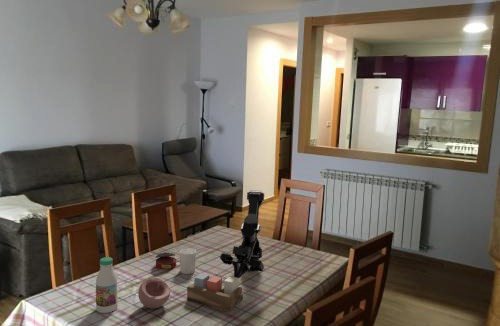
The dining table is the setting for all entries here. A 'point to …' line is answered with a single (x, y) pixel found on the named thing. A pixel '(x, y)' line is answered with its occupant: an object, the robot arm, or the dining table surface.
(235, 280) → the white key
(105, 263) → the milk bottle
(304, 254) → the dining table surface
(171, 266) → the canned food
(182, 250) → the white cup
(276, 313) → the dining table surface
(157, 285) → the pink round pot
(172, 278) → the dining table surface
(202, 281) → the grey rectangular block
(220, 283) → the red key
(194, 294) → the key console
